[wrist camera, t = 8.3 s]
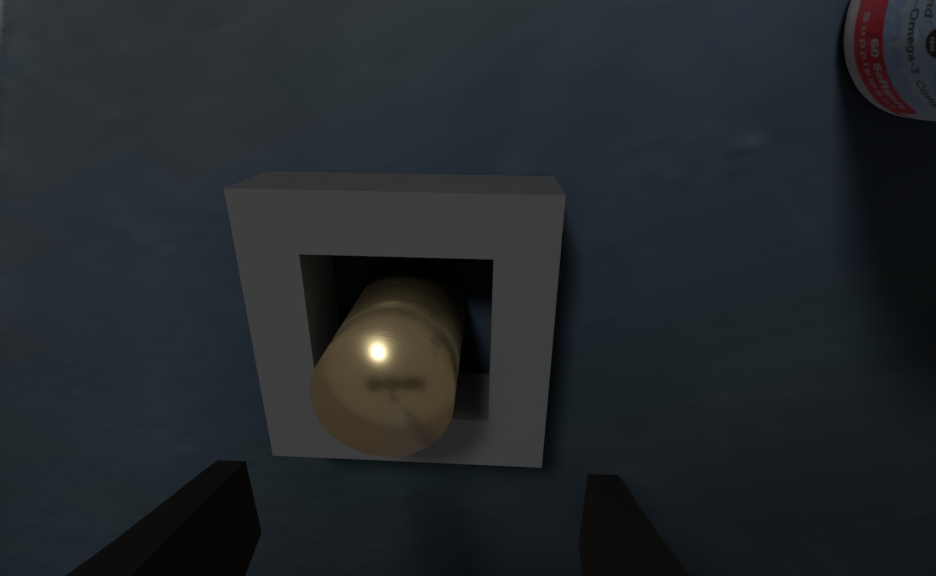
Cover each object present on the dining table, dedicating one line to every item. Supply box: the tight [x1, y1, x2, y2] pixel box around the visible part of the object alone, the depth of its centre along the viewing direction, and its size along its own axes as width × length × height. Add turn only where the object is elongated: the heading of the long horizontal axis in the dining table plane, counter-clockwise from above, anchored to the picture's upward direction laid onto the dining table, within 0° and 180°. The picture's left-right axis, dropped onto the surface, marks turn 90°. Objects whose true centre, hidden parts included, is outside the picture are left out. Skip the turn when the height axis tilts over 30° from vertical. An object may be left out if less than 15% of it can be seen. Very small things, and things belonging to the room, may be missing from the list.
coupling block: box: [224, 171, 566, 468], centre depth 18 cm, size 10×10×3 cm
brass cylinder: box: [310, 258, 466, 457], centre depth 16 cm, size 4×4×6 cm
